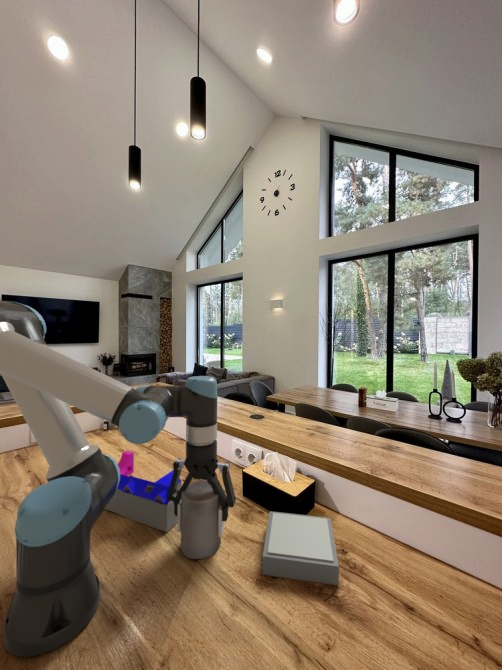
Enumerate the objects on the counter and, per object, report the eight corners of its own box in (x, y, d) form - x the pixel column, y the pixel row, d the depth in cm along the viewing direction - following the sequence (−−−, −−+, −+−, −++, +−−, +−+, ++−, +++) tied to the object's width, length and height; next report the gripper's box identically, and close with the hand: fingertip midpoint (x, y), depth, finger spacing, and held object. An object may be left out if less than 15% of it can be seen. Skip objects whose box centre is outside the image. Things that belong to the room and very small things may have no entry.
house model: (99, 508, 86) (99, 475, 86) (137, 484, 100) (137, 455, 100) (166, 532, 76) (166, 495, 76) (198, 502, 90) (199, 470, 90)
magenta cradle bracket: (99, 494, 94) (99, 471, 94) (88, 488, 97) (88, 466, 97) (138, 474, 107) (138, 454, 107) (126, 470, 110) (127, 450, 110)
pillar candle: (202, 526, 78) (203, 471, 78) (228, 543, 72) (229, 483, 72) (172, 546, 71) (172, 485, 71) (198, 567, 65) (199, 501, 65)
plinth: (338, 585, 61) (338, 565, 60) (262, 574, 63) (262, 554, 63) (330, 533, 76) (330, 516, 76) (269, 525, 79) (269, 510, 79)
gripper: (248, 437, 73) (248, 525, 73) (165, 431, 77) (165, 515, 77) (243, 449, 66) (242, 547, 66) (151, 442, 69) (151, 535, 70)
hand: (201, 530), depth 72 cm, fingers closed on pillar candle, 10 cm apart
